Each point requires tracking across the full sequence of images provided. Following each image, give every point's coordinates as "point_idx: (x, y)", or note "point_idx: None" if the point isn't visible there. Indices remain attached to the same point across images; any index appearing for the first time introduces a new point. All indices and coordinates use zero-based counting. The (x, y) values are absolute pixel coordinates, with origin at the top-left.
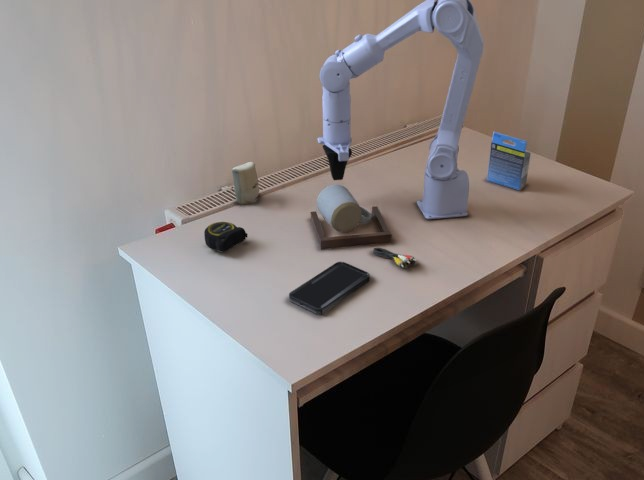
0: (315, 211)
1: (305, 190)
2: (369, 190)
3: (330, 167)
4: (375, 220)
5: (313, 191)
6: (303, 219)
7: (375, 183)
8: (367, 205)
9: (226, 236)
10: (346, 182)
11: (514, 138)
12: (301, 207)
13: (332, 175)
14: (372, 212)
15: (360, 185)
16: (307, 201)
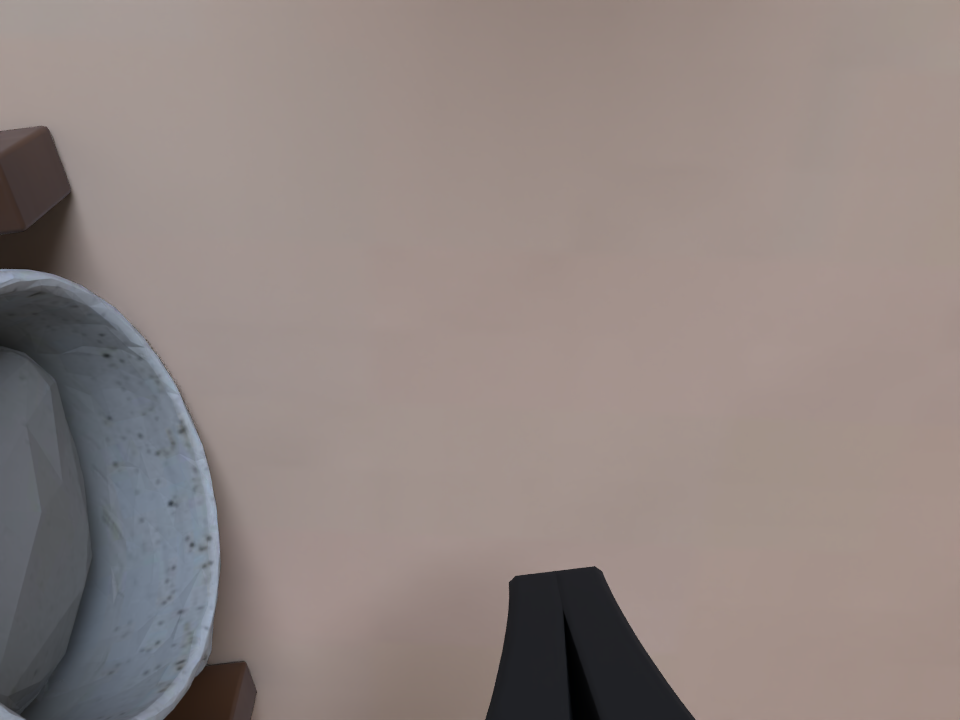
0: (17, 225)
1: (858, 87)
2: (705, 664)
3: (550, 717)
4: None
5: (805, 186)
6: (54, 29)
7: (823, 705)
8: (424, 640)
9: None
10: (917, 512)
11: None
12: (389, 14)
13: (507, 629)
14: (206, 696)
15: (818, 611)
16: (551, 102)
